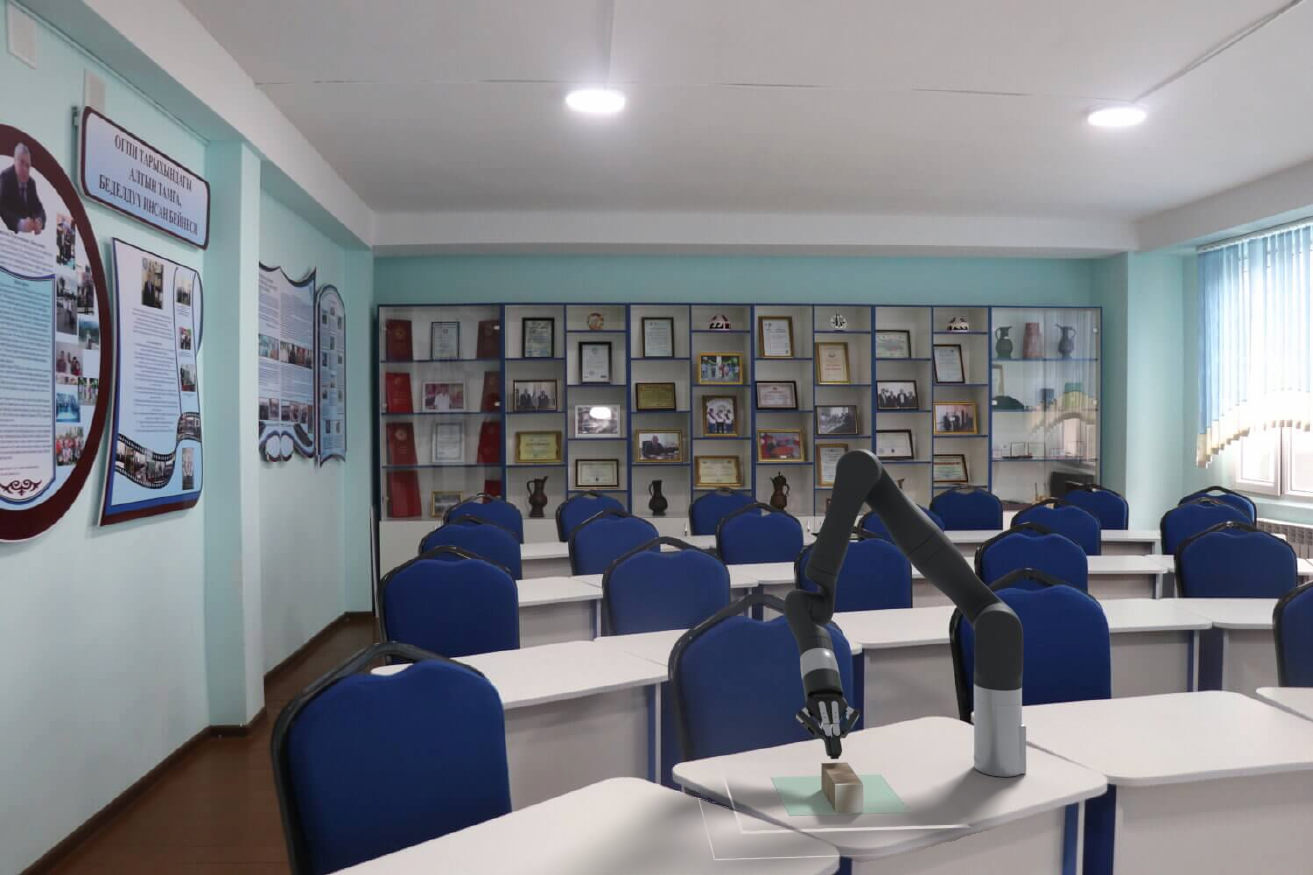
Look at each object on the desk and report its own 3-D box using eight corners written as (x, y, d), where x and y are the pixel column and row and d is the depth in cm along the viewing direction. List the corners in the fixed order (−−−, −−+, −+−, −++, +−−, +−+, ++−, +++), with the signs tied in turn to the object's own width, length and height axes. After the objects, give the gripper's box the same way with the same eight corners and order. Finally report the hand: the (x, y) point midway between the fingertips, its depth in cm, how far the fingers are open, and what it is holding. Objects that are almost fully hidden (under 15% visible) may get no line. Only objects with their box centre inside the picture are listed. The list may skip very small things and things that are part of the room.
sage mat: (880, 776, 192) (880, 774, 192) (911, 814, 173) (911, 812, 173) (770, 779, 191) (770, 777, 191) (789, 818, 172) (789, 815, 172)
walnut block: (847, 762, 184) (863, 784, 173) (847, 788, 184) (863, 812, 173) (821, 763, 184) (835, 785, 173) (821, 789, 184) (835, 812, 173)
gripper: (790, 667, 192) (803, 748, 180) (856, 665, 193) (873, 747, 181) (785, 686, 198) (798, 767, 186) (849, 685, 199) (866, 765, 186)
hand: (835, 757), depth 183 cm, fingers closed
